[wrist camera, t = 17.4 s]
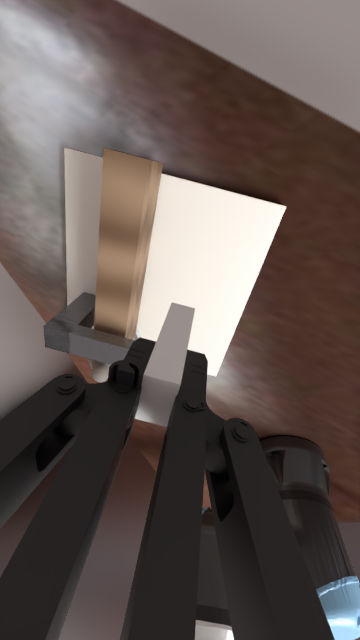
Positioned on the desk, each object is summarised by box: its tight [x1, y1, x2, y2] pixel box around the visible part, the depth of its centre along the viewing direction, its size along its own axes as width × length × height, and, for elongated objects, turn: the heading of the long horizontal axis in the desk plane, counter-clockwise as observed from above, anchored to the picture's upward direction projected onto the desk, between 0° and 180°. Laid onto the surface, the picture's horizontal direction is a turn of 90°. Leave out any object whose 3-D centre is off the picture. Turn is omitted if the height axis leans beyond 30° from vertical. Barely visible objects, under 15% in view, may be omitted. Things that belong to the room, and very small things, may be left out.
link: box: [88, 148, 163, 382], centre depth 29 cm, size 27×5×8 cm, turn 167°
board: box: [64, 148, 286, 376], centre depth 34 cm, size 26×25×2 cm
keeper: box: [44, 292, 135, 364], centre depth 33 cm, size 3×10×11 cm, turn 78°
